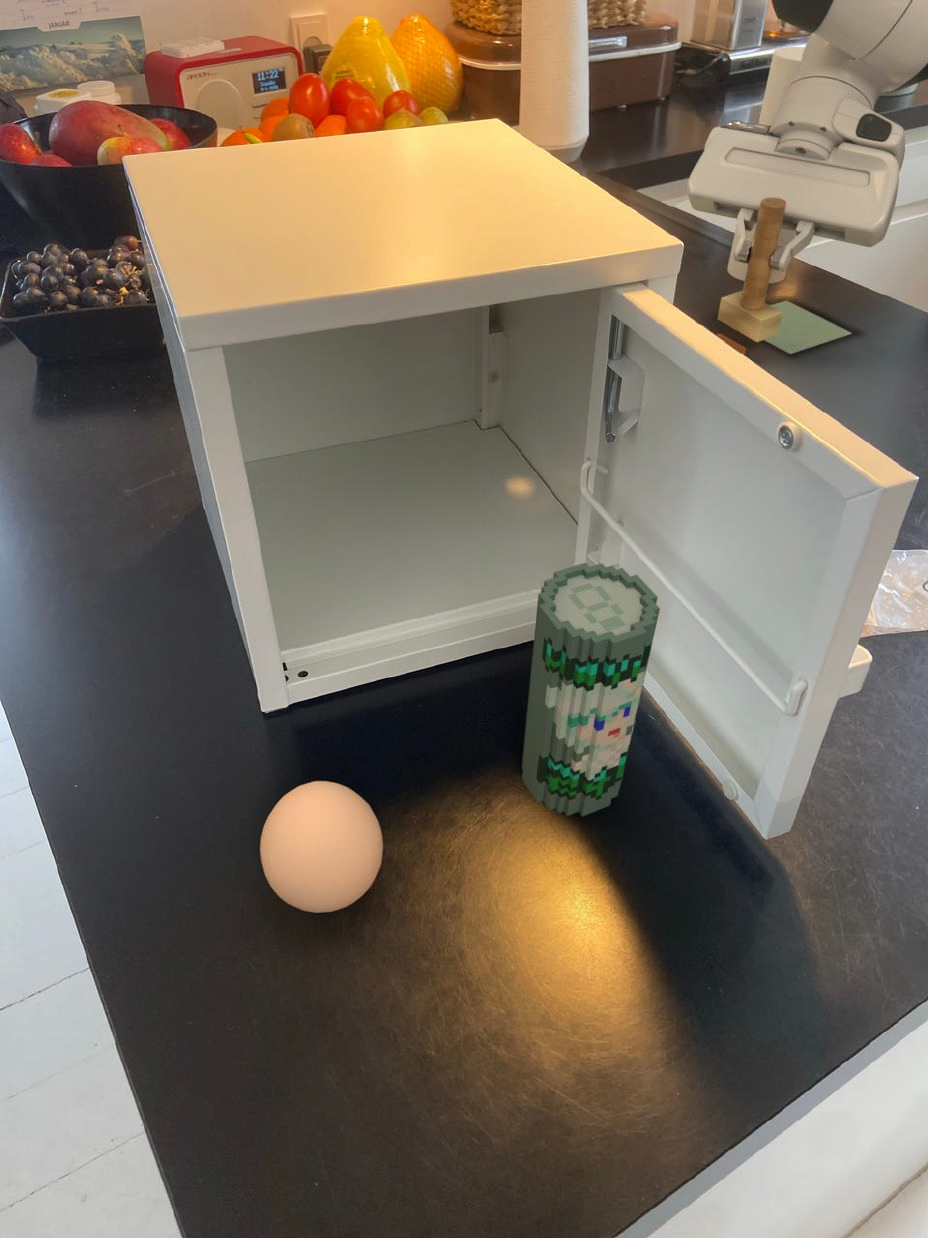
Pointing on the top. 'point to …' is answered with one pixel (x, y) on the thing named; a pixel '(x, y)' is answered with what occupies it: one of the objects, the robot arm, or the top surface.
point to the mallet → (757, 279)
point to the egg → (321, 847)
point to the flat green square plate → (802, 329)
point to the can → (585, 685)
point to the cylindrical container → (779, 79)
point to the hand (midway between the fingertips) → (758, 263)
